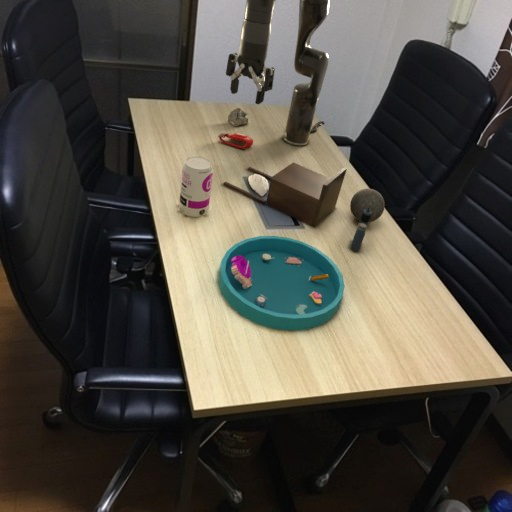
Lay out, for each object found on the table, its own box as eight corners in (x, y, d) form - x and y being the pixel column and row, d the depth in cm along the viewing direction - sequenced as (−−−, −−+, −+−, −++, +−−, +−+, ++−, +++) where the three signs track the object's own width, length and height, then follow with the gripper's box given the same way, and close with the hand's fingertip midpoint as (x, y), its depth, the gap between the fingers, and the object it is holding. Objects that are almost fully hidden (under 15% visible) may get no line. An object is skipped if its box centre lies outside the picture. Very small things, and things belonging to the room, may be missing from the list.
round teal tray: (219, 242, 134) (221, 224, 130) (329, 253, 138) (334, 235, 134) (218, 325, 110) (221, 306, 107) (351, 335, 114) (358, 316, 111)
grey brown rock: (227, 121, 194) (229, 104, 190) (246, 122, 197) (249, 105, 193) (229, 126, 191) (232, 109, 187) (249, 127, 194) (252, 109, 190)
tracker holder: (242, 132, 186) (260, 137, 180) (240, 144, 188) (257, 150, 181) (216, 129, 178) (233, 135, 172) (214, 142, 180) (231, 148, 173)
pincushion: (244, 176, 163) (247, 160, 160) (262, 177, 165) (265, 161, 162) (252, 196, 154) (254, 180, 151) (271, 197, 156) (274, 181, 153)
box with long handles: (249, 169, 168) (256, 129, 159) (335, 208, 157) (347, 168, 149) (223, 185, 157) (229, 144, 148) (313, 228, 146) (325, 186, 138)
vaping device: (361, 243, 144) (374, 207, 137) (358, 253, 140) (371, 217, 133) (352, 240, 144) (364, 204, 137) (349, 250, 140) (361, 214, 133)
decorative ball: (349, 206, 159) (358, 178, 153) (380, 216, 157) (391, 188, 151) (343, 222, 151) (352, 193, 145) (375, 232, 150) (386, 204, 144)
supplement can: (213, 208, 146) (219, 162, 137) (198, 221, 140) (204, 173, 130) (188, 198, 148) (193, 152, 139) (173, 211, 142) (176, 163, 132)
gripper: (285, 44, 132) (274, 104, 142) (242, 28, 138) (234, 87, 148) (269, 48, 127) (258, 110, 137) (224, 31, 133) (217, 92, 142)
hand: (246, 98), depth 142 cm, fingers open, 8 cm apart
